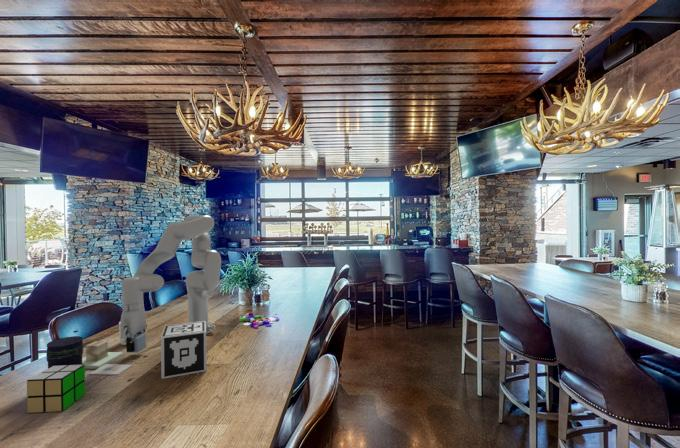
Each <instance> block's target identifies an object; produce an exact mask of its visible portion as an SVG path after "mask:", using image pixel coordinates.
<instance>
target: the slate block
mask: <svg viewBox="0 0 680 448" xmlns="http://www.w3.org/2000/svg"><path fill="white" fill-rule="evenodd" d="M129 338H131V336H130V337H129ZM133 342H134V346H135V351H134V352H127V351H126V354H127V353H132V354H133V353H134V354H135V353H137V354H139V353H140V352H141V351H143V350H145V349H146V348H147V338H146V333H144V334H135V335H134V339H133Z"/></svg>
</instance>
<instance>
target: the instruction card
mask: <svg viewBox="0 0 680 448" xmlns="http://www.w3.org/2000/svg"><path fill="white" fill-rule="evenodd" d="M131 367H133V364H117V363H116V364H114V363H113V364H111V363H109V364H106V365H104V366H102V367H100V368H98V369H94V370H93V371H91V372H90V373H89V375H94V376H95V375H97V376H98V375H100V376H101V375H102V376H103V375H104V376H119V375H120V374H122V373H123V372H124V371H127V370H128V369H130V368H131Z"/></svg>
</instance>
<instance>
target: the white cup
mask: <svg viewBox="0 0 680 448" xmlns="http://www.w3.org/2000/svg"><path fill="white" fill-rule="evenodd" d="M120 325H121V321H119V322H118V328H119V329H118V330H119V339H120V345H122V346H124V345H125V346H126V343H125V341H124V340H122V339H121V332H120ZM129 335H130V334H129ZM129 337H130V336H129Z"/></svg>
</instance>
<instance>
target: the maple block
mask: <svg viewBox="0 0 680 448" xmlns="http://www.w3.org/2000/svg"><path fill="white" fill-rule="evenodd" d="M108 345H109V344H108V340H106V341H105V340H96V341H93V342H91V343H89V344H87V345H86V346H85V356H86V361H99V360H101V359H102V358H104V357H106V356H108V352H109V349H108V348H109V347H108Z"/></svg>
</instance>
